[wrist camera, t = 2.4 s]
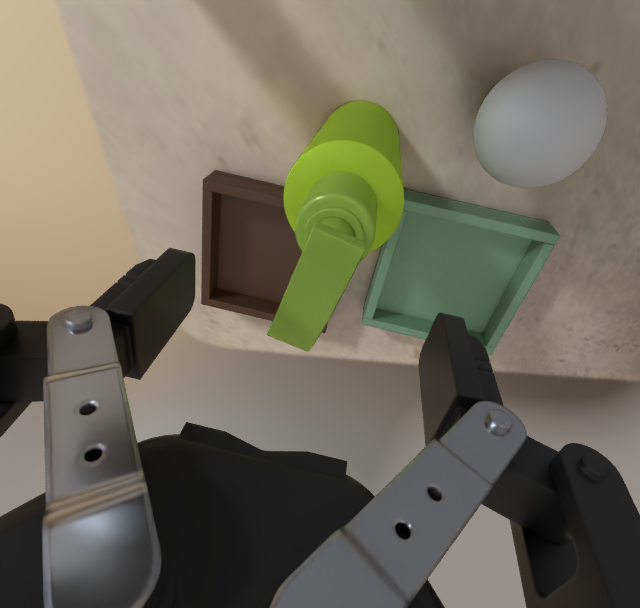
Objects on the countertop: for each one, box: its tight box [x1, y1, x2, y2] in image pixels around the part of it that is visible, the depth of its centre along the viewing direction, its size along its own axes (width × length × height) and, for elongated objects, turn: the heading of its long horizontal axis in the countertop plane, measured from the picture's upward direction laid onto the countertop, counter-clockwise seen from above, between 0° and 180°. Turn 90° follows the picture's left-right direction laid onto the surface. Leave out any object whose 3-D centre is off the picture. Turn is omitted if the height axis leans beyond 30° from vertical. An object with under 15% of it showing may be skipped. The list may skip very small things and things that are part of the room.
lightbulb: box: [473, 59, 608, 188], centre depth 23 cm, size 6×6×11 cm
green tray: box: [362, 189, 560, 355], centre depth 34 cm, size 12×12×3 cm
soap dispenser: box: [267, 101, 404, 351], centre depth 22 cm, size 6×7×20 cm
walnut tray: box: [201, 170, 328, 333], centre depth 35 cm, size 12×12×3 cm
